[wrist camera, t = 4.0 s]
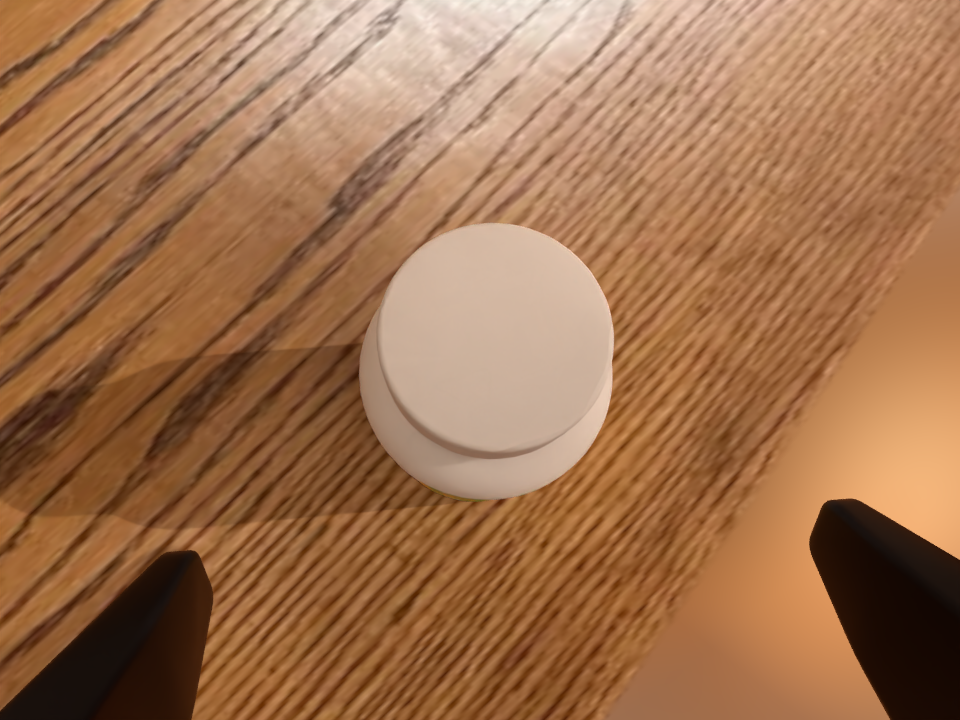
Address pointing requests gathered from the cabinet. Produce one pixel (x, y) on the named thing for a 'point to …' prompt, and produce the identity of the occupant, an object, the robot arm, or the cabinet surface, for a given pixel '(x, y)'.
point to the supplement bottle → (488, 362)
